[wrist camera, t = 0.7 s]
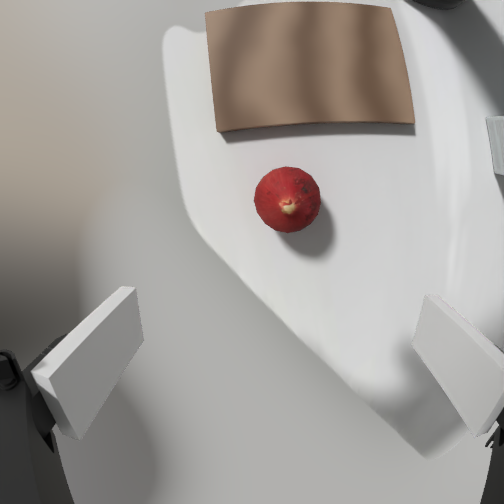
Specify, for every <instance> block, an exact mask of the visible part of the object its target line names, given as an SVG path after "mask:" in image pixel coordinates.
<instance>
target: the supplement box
mask: <svg viewBox="0 0 504 504" xmlns="http://www.w3.org/2000/svg"><path fill="white" fill-rule="evenodd" d="M486 122H487V127H488V132H489V138H490V145H491V151H492V159H493V167H494V172H495V174H500V175H504V116H494V117H486Z"/></svg>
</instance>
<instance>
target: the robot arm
mask: <svg viewBox="0 0 504 504" xmlns="http://www.w3.org/2000/svg"><path fill="white" fill-rule="evenodd" d="M414 1H416V2H418V3H420V4H423V5H425V6H428V7H432V8H436V9H452V8H455V7H457V6H458V5H459V4H461V3H462V2H463V1H465V0H414ZM143 341H144V338H143V332H142V325H141V319H140V313H139V306H138V298H137V291H136V288H135V287H123V286H121V287H120V288H119V289H118V290H117V291H115V292H114V293H113V294H112V295H111V296H110V297H109V298H108V299H106V300H105V301H104V302H103V303H102V304H101V305H100V306H99V307H97V308H96V309H95V310H94V311H93V312H92V313H91V314H90V315H89V316H88V317H86V318H85V319H84V320H83V321H82V322H81V323H80V324H79V325H78V326H77V327H76V328H75V329H73V330H72V331H71V332H70V333H69V334H65V335H63V336H61V337H59V338H57V339H56V340H55V341H54V342H52V343H51V345H49V346H48V348H46V349H45V350H44V351H43V352H42V354H40V355H39V356H38V357H37V358H36V359H35V360H34V361H33V362H32V363H31V364H30V365H28V366H27V367H26V369H24V370H23V371H21V369H20V367H19V364H18V362H17V359H16V357H15V355H14V353H13V352H12V351H9V350H0V504H74V502H73V499H72V496H71V493H70V490H69V487H68V484H67V480H66V477H65V474H64V470H63V467H62V463H61V459H60V455H59V452H58V447H57V443H56V438H55V435H54V433H53V431H52V428H53V426H54V425H55V423H56V424H57V425H58V427H59V429H60V431H61V432H62V434H63V435H66V436H68V437H71V438H73V439H76V440H79V441H81V439H82V437H83V436H84V434H85V432H86V431H87V429H88V428H89V426H90V424H91V423H92V421H93V419H94V418H95V416H96V414H97V412H98V411H99V410H100V408H101V406H102V405H103V403H104V402H105V400H106V398H107V397H108V395H109V394H110V392H111V390H112V389H113V387H114V386H115V384H116V382H117V381H118V379H119V378H120V376H121V375H122V373H123V372H124V370H125V369H126V367H127V365H128V364H129V362H130V361H131V359H132V358H133V356H134V354H135V353H136V352H137V350H138V349H139V347H140V346H141V344H142V343H143ZM411 346H412V347H413V348H414V350H415V351H416V352H417V354H418V355H419V356H420V358H421V359H422V361H423V362H424V363H425V365H426V366H427V368H428V369H429V370H430V372H431V373H432V375H433V376H434V377H435V379H436V380H437V382H438V383H439V385H440V386H441V388H442V389H443V390H444V392H445V393H446V395H447V396H448V398H449V399H450V401H451V402H452V404H453V405H454V407H455V408H456V410H457V412H458V413H459V415H460V416H461V418H462V419H463V421H464V422H465V424H466V426H467V427H468V429H469V430H470V432H471V434H472V435H473V437H474V438H475V437H478V436H480V435H482V434H485V433H487V432H488V431H489V430H490V428H491V427H492V425H493V424H494V422H495V421H497V422H498V424H499V426H498V428H497V429H496V430H495V432H494V433H493V435H492V436H491V437H490V439H489V440H488V441H487V443H486V445H485V447H488V445H489V444H490V443H491V441H494V442H493V444H492V446H491V447H490V448H493V449H492V455H491V461H490V466H489V471H488V475H487V480H486V484H485V488H484V492H483V495H482V499H481V503H480V504H504V353H503V351H501V350H500V349H499V348H498V347H497V346H496V345H495V344H493V343H492V342H491V341H490V340H489V339H488V338H487V337H485V336H484V335H483V334H482V333H481V332H480V331H479V330H478V329H477V328H476V327H474V326H473V325H472V324H471V323H470V322H469V321H468V320H466V319H465V318H464V317H463V316H462V315H461V314H460V313H458V312H457V311H456V310H455V309H454V308H453V307H451V306H450V305H449V304H448V303H447V302H445V301H444V300H443V299H442V298H441V297H439V296H438V295H425V297H424V302H423V306H422V310H421V313H420V317H419V321H418V325H417V328H416V332H415V335H414V338H413V342H412V345H411Z"/></svg>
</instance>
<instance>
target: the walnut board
mask: <svg viewBox="0 0 504 504" xmlns="http://www.w3.org/2000/svg"><path fill="white" fill-rule="evenodd" d="M205 19H206V31H207V42H208V52H209V63H210V73H211V83H212V93H213V102H214V111H215V120H216V129H217V132H219V133H222V132H229V131H237V130H245V129H254V128H263V127H273V126H285V125H300V124H319V123H393V124H413V123H415V117H414V110H413V103H412V96H411V90H410V84H409V79H408V73H407V68H406V64H405V59H404V55H403V50H402V46H401V42H400V38H399V34H398V31H397V27H396V24H395V20H394V17H393V14H392V11H391V8H387V7H380V6H372V5H364V4H353V3H339V2H283V3H268V4H258V5H249V6H241V7H234V8H227V9H222V10H217V11H211V12H206V13H205Z"/></svg>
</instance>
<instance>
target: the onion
mask: <svg viewBox="0 0 504 504" xmlns="http://www.w3.org/2000/svg"><path fill="white" fill-rule="evenodd" d="M254 202H255V206H256V210H257V213H258V214H259V216H260V217H261V219H262V220H263V221H264V223H265V224H267V225H268V226H270V227H271V228H273V229H274V230H276V231H281V232H286V233H290V232H295V231H300V230H302V229H303V228H305V227H306V226H308V225H310V224H311V223H312V221H313V220H314V219H315V218H316V216H317V215H318V212H319V208H320V205H321V199H320V191H319V187H318V185H317V184H316V182H315V181H314V179H313V178H312V176H311V175H309V174H308V173H306V172H304V171H303V170H301V169H300V168H293V167H282V168H278V169H274V170H272V171H271V172H269V173H268V174H267V175H265V176H264V177H263V178H262V179H261V181H260V182H259V184H258V185H257V187H256V191H255V197H254Z"/></svg>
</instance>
